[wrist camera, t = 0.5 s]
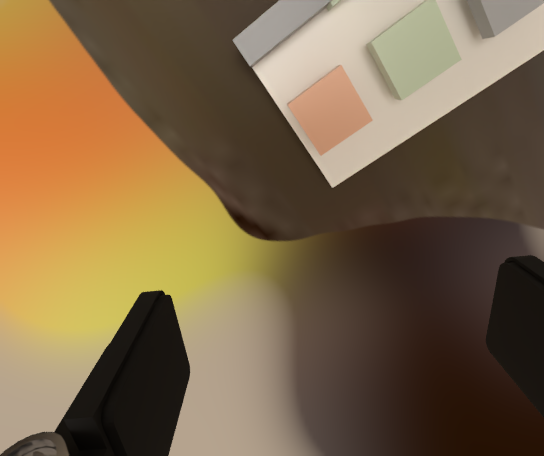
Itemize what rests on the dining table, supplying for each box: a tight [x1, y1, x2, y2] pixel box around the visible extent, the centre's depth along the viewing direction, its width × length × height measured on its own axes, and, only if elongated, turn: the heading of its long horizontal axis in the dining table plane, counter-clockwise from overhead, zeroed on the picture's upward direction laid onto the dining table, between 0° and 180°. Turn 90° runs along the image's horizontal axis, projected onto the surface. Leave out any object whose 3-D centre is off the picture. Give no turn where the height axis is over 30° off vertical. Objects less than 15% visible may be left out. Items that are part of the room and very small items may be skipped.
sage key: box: [366, 0, 462, 100], centre depth 24 cm, size 5×5×2 cm
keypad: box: [233, 0, 544, 188], centre depth 25 cm, size 20×14×5 cm
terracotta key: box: [287, 65, 373, 156], centre depth 26 cm, size 5×5×2 cm
